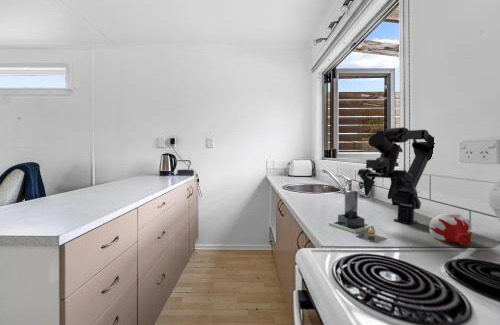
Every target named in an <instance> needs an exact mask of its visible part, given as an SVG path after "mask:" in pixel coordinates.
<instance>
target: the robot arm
mask: <svg viewBox="0 0 500 325" xmlns="http://www.w3.org/2000/svg"><path fill="white" fill-rule="evenodd" d="M434 138H435V137H434V136H432V135H431V134H430V132H428V130H427V129H415V130H412V129H411V130H410V129H408V128H406V127H393V128H392V127H389V128H385V130H381V129H380V130H376V132H375V133H374V134H372V135H371V137H370V138H369V139H368V145H369V146H370V147H372V148H373V149H374V150H375V151H376V152H378V153H380V156H379V157H377V158H376V159H366V160H365V162H366V163H365V168H359V169H358V172H357V176H359V178H361V179H362V181H363V188H364V195H365V196H366V197H367V196H369V194H370V193H371V190H372V188H373V186H374V184H375V182H376V181H375V179H376V178H378V179H379V178H381V179H390V187H389V190H388V192H387V193H388V194H387V197H386V198H387V200H391V205H392V206H396V207H397V217H396V218H394V219H393V222H399V223H402V224H406V225H414V224H415V223H418V220H417V219H415V210H420V209H421V204H422V203H421V201H420V199H419V197H418V196H419V195H418V191H417V186H418V183H419V181H420V180H421V177H422V175H423V173H424V171H425V168H426V166H427V164H428V162H429V161H431V160H432V159H431V157H432V154H433V148H434V144H435V143H434ZM409 140H412V142H411V147H412V148H413V153H414V158H413V160H412V162H411V164H410V167H409V168H408V170H407V171H406V170H404V169H403V170H399V169H395V167H398V166H399V163H398V162H397V161H398V158H399V154H400V153H403V149H402V147H401V145H400V144H398V143H406V142H408V141H409ZM417 140H424V141H417ZM430 159H431V160H430ZM370 169H371V170H370Z"/></svg>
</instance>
